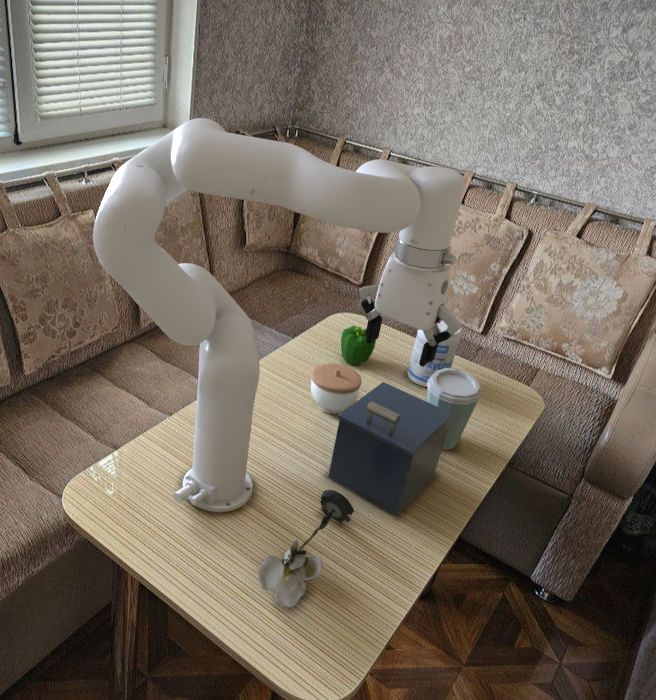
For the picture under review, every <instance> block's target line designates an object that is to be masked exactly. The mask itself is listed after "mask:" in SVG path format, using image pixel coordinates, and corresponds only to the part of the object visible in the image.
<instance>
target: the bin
mask: <svg viewBox="0 0 656 700" xmlns="http://www.w3.org/2000/svg"><path fill="white" fill-rule="evenodd" d="M450 422H451V418H450V419H449V420H448V421H447V422H446V423H445V424H444V425H443V426H442V427H441V428H440V429H439V430H438V431H437V432H436V433H435V434H434V435H433V436H432V437H431V438H430V439H429V440H428V441H427V442H425V443H424V444H423V445H422V446H421V447H420V448H419V449H418V450H417V451H416V452H415V453H414V454H413V455H412V456H410V455H408V454H406V453H404V452H402V451H400V450H398V449H396V448H394V447H392V446H390V445H388V444H386V443H384V442H382V441H380V440H378V439H376V438H375V437H373V436H371V435H369V434H367V433H365V432H363V431H361V430H359V429H357V428H355V427H353V426H351V425H349V424H347V423H345V422H343V421H341V420H339V419H338V426H337V430H336V436H335V441H334V445H333V450H332V455H331V461H330V465H329V471H328V475H327V476H328V477H327V478H329V479H330V480H332V481H334V482H336V483H337V484H339V485H341V486H343V487H345V488H346V489H348V490H350V491H351V492H353V493H354V494H357V495H358V496H360V497H362V498H365V499H366V500H367V501H369V502H371V503H372V504H374V505H376V506H378V507H380V508H381V509H383V510H385V511H386V512H389V513H390V514H392V515H394V516H396V517H397V516H399V514H400V513H401V512H402V511H403V510H404V509H405V508H406V506H407V505H409V503H410V502H411V501H412V500H413V499H414V498H415V497H416V496H417V495H418V494H419V493H420V491H421V490H423V488H425V486H426V485H427V484H428V483H429V482H430V481H431V480H432V479H433V477H434V476H435V474H436V472H437V468H438V465H439V461H440V457H441V455H442V451H443V449H442V448H443V445H444V442H445V438H446V435H447V432H448V428H449V425H450Z"/></svg>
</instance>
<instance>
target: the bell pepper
mask: <svg viewBox="0 0 656 700" xmlns="http://www.w3.org/2000/svg"><path fill="white" fill-rule="evenodd" d="M366 329H367V328H362V327H361V326H359V325H358V326H356V325H354V324H353V325H352V326H349V327H348V328H344V329H343V331H342V332H341V338H340V349H341V356H342V358H343V360H344V361H345V363H346V364H348V365H351V366H360V365H362V364H364V363H366V362H368V360H370V358H371V356H372V353H373V352H374V350H375V346H376V342H377V339H376V340H375V341H373V342H372V343H369V344H368V343H366V338H367V335H366Z"/></svg>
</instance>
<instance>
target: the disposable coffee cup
mask: <svg viewBox="0 0 656 700" xmlns="http://www.w3.org/2000/svg"><path fill="white" fill-rule="evenodd" d="M426 384H427V387H426V388H427V393H426V402H428V403H430V404H433V405H435V406H437V407H439V408H441V409H443V410H446V411H448V412H450V413H452V414H453V415H452V417H451V422H450V425H449V428H448V432H447V435H446V438H445V442H444V445H443V448H442V450H446V451H448V450H452V449H454V448H455V447H456V446H457V444H458V443H459V441H460V439H461V438H462V435H463V434H464V431H465V429H466V427H467V424H468V423H469V420H470V418H471V416H472V414H473V412H474V411H475V407H476V405H477V404H478V402H479V400H481V397H482V395H483V393H482V392H483V391H482V389H481V386H480V383H479V380H478V379H477V378H476V377H475V376H474V375H472V374H471V373H470V372H467V371H464V370H462V369H458V368H452V367H451V368H444V369H441V370H438V371H436V372H435V373H434V374H433V375H432V376H431V377H430V378H429V380H428V382H427V383H426Z"/></svg>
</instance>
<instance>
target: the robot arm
mask: <svg viewBox="0 0 656 700" xmlns="http://www.w3.org/2000/svg"><path fill="white" fill-rule="evenodd" d="M465 187H466V180H465V177H464V176H463V174H461V173H459V172H458V171H456V170H453V169H450V168H446V167H441V166H422V167H420V166H415V165H411V164H405V163H400V162H396V161H393V160H388V159H380V158H379V159H371V160H369V161H366V162H365V163H362V164H361V165H360V166H359V167H358V168H357V170H356V171H354V170H350V169H346V168H343V167H340V166H338V165H334V164H332V163H329V162H327V161H326V160H323V159H321V158H319V157H317V156H316V155H314V154H313V153H311V152H310V151H308V150H306V149H304V148H302V147H300V146H298V145H296V144H294V143H290V142H285V141H278V140H272V139H267V138H262V137H255V136H250V135H242V134H238V133H234V132H233V133H232V132H228V131H226V130H225V129H224V127H222V125H221V124H219V123H218V122H217V121H214V120H213V119H210V118H206V117H205V118H204V117H196V118H192V119H190V120H187V121H185V122H183V123H181V124H180V125H178V126H177V127H176V128H175V129H174V128H173V130H171V131H170V132H168V133H167V134H166V135H164V136H163V137H161V138H159V140H157V141H156V142H154V143H153V144H151V145H150V146H148V147H147V148H145V149H143V150H142V151H140V152H139V153H138V154H136V155H135V156H132V157H131V158H130V159H129V160H127V161H126V162H125V163H123V164H122V165H121V166H120V167H119V168H118V169H117V170H116V172H115V173H114V175H113V176H112V178H111V180H110V182H109V185H108V187H107V189H106V191H105V193H104V196H103V198H102V200H101V203H100V206H99V208H98V211H97V214H96V217H95V221H94V225H93V230H92V241H93V242H92V243H93V248H94V249H93V250H94V253H95V255H96V258H97V259H98V261H99V263H100V264H101V266H102V268H103V269H104V270H105V271H106V272H107V273H108V275H110V276H111V278H113V280H114V281H115V282H117V284H118V285H119V286H120V287H121V288H122V289H123V290H124V291H125V292H126V293H127V294H128V295H129V296H130V298H132V300H133V301H134V302H135V304H137V305H138V307H140V309H141V310H143V312H144V313H145V314H146V315H147V316H148V317H149V318H150V319H151V320H152V321H153V322H154V323H155V325H156V326H158V328H159V329H160V330H161V331H162V332H163V333H164V334H165V336H166V337H168V338H169V339H170V340H172V341H174V342H175V343H177V344H179V345H182V346H186V347H187V346H188V347H192V346H197V345H199V349H198V351H199V352H198V353H199V355H198V373H197V374H198V379H197V392H196V407H195V423H194V424H195V425H194V437H193V438H194V439H193V453H192V454H193V455H192V456H193V457H192V467H191V468H190V469H189V470H187V472H186V473H185V475H184V476H183V479H182V487H181V488H180V489H178V490H176V492H174V493H173V495H172V496H173V499H174V501H175V502H176V503H178V504H181V503H182V502H183V501H185V500H187V501H189V502H190V504H191V505H192V506H194V507H197V508H199V509H201V510H203V511H208V512H211V513H227V512H232V511H235V510H238V509H240V508H241V507H243V506H244V505H247V503H248V502H249V500H250V499H251V497H252V495H253V486H254V485H253V480H252V478H251V476H250V475H249V474H248V473H247V465H248V459H249V458H248V457H249V450H250V449H249V448H250V440H251V432H252V423H253V414H254V413H253V412H254V406H255V400H256V394H257V390H258V386H259V381H260V371H261V367H260V366H261V365H260V355H259V349H258V343H257V338H256V331H255V328H254V325H253V323H252V320H251V319H250V317H249V316H248V314H247V313H246V312H245V311H244V309H243V308H241V306H240V305H239V304H238V303H237V301H236V300H235V299H234V298H233V297H232V296H231V295H230V294H229V292H228V291H227V290H226V289H225V288H224V287H223V285H222V284H221V283H220V282H219V280H217V278H216V276H214V275H213V274H212V273H211V272H209V271H208V270H207V269H206V268H203V267H202V266H201V265H198V264H195V263H189V262H183V263H178V262H177V261H176V260H175V258H174V257H173V256H172V255H171V254H170V253H169V252H168V251H167V250H166V249H164V248H163V247H162V246H160V245H159V244H158V243H157V241H156V233H157V230H158V229H159V227H160V225H161V223H162V220H163V217H164V214H165V209H166V205H167V204H168V203H170V202H171V201H173V200H174V199H176V198H177V197H179V196H181V195H182V194H183V193H185V192H186V191H188V190H189V191H192V192H196V193H198V194H203V195H210V196H216V197H223V198H229V199H236V200H243V201H249V202H256V203H261V204H268V205H272V206H278V207H282V208H285V209H288V210H289V211H292V212H293V213H297V214H299V215H303V216H306V217H310V218H313V219H315V220H318V221H321V222H324V223H327V224H331V225H334V226H339V227H342V228H346V229H347V228H348V229H354V230H359V231H365V232H366V231H367V232H372V233H380V234H381V233H382V234H388V233H389V234H390V233H391V234H392V233H397V232H399V233H398V238H397V242H396V247H395V251H393V252H392V253H391V254H390V256H389V258H388V260H387V263H386V265H385V267H384V269H383V272H382V275H381V278H380V280H379V283H377V284H370V285H364V286H362V287H360V288H359V289H358V295H359V298H360V301H361V303H360V305H361V307H362V309H363V311H364V314H366V315H365V319H366V320H367V324H366V328H365V329H366V335H367V338H366V343H368V344H369V343H372V342H373V341H375V340H376V341H377V340H378V339H379V337H380V333H381V327H382V323H383V316H384V317H386V318H389V319H392V320H394V321H396V322H398V323H401V324H404V325H406V326H409V327H410V328H414V329H416V330H418V329H419V330H423V332H424V335H425V337H426V339H427V341H428V342H426V343H425V344H424V346H423V350H422V354H421V358H420V362H419V365H420V366H422V367H424V366H425V365H426V364H427V363H429V362H432V361H433V360H434V358H435V355H436V351H437V347H438V343H441V342H443V341H445V340H447V339H449V338H450V337H451V336H452V335H453V334H455V333H456V332H457V331H458V330H459V329H460V328H461V329H462V327H463V325H462V323H461V321H460V320H459V319H458V318H457V317H456V316H455V315H454V314H453V313H452V312H451V311H449V309H447V302H448V295H449V288H450V280H451V279H450V277H451V275H450V274H451V267H450V265H452V266H453V265H455V263H456V260H457V256H456V255H454V254H453V253H452V252H451V246H450V245H451V243H452V238H453V235H454V232H455V227H456V223H457V220H458V215H459V212H460V207H461V204H462V200H463V197H464V192H465ZM374 294H375V295H376V296H375V300H374V301H373V300H372V296H371V295H374ZM442 320H443V321H444V322H445V323H446V324H447V326H448V328H447V329H446V330H445V331H443V332H441V331H440V328H439V326H438V324H437V323H440V322H441V321H442Z"/></svg>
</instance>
